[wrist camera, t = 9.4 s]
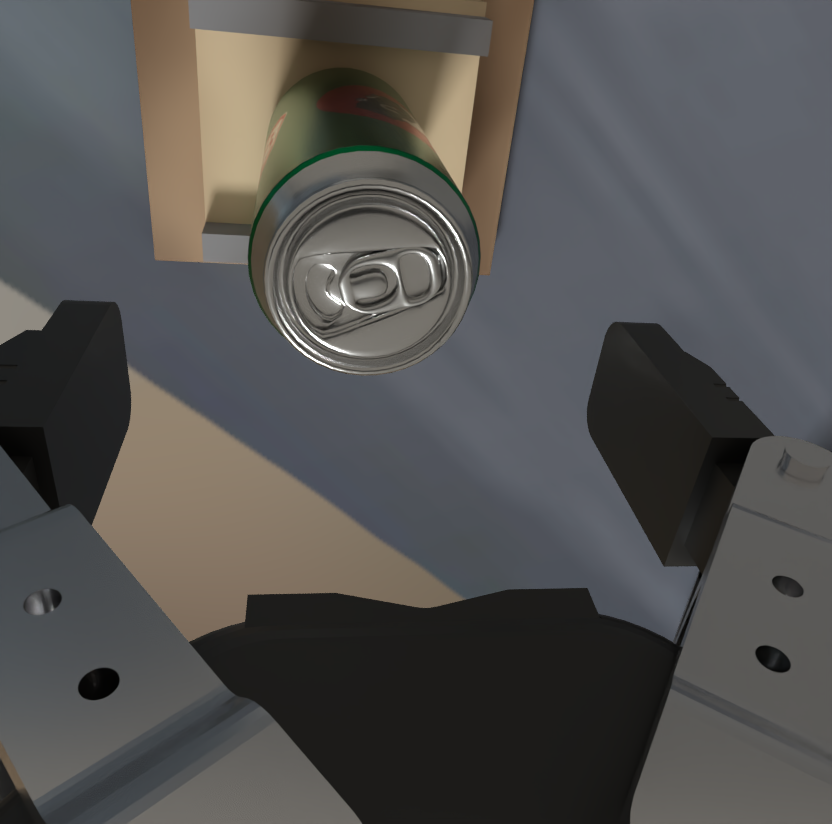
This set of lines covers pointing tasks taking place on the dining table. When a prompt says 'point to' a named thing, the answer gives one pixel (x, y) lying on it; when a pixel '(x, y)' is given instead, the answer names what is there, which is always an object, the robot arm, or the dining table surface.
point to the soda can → (358, 228)
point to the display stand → (290, 62)
